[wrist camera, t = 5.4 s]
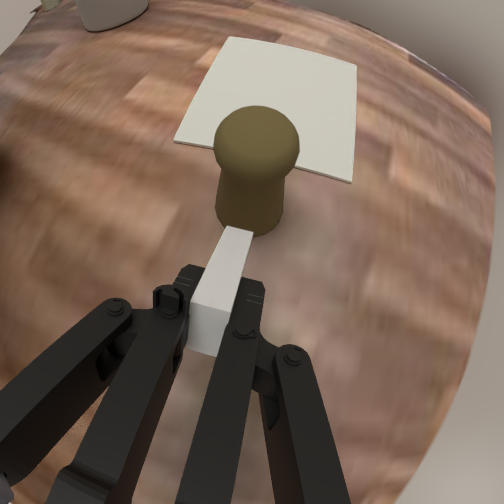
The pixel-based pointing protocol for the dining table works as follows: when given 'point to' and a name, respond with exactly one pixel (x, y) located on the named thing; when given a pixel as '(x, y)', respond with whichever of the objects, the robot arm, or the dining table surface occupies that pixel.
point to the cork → (254, 167)
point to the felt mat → (281, 100)
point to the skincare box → (49, 4)
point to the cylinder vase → (108, 12)
